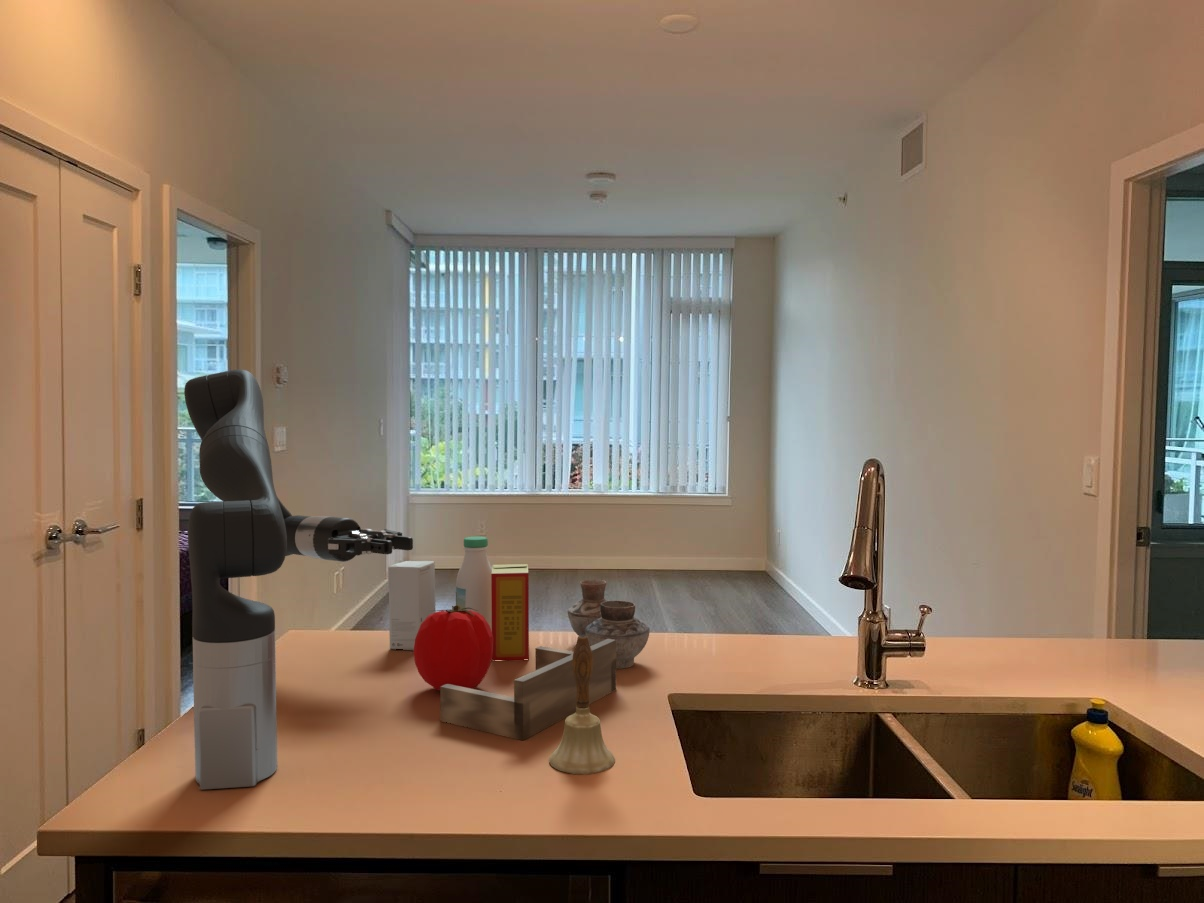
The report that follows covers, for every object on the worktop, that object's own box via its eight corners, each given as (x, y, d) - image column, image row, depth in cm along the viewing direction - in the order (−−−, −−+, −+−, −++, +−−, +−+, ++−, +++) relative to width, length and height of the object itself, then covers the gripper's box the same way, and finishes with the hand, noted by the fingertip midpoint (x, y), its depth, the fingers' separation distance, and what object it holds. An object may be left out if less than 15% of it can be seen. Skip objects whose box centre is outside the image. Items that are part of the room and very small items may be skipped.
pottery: (612, 635, 173) (612, 575, 172) (659, 670, 149) (659, 601, 149) (557, 639, 169) (556, 578, 169) (596, 676, 146) (596, 605, 145)
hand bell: (628, 761, 110) (628, 636, 109) (580, 780, 104) (580, 648, 103) (583, 743, 116) (583, 624, 115) (535, 761, 110) (535, 635, 109)
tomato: (417, 705, 131) (416, 617, 131) (411, 680, 143) (410, 600, 143) (500, 697, 135) (500, 611, 134) (488, 673, 147) (487, 595, 146)
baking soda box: (528, 660, 155) (528, 570, 154) (491, 661, 154) (491, 571, 154) (528, 646, 164) (527, 561, 164) (493, 647, 164) (492, 562, 163)
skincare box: (419, 651, 161) (419, 567, 160) (386, 649, 162) (385, 566, 161) (437, 640, 169) (436, 560, 168) (405, 638, 170) (404, 559, 169)
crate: (440, 721, 124) (440, 665, 124) (540, 675, 146) (540, 628, 145) (523, 740, 117) (523, 681, 116) (616, 689, 138) (616, 639, 138)
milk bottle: (500, 636, 172) (499, 535, 171) (491, 646, 164) (490, 540, 163) (461, 635, 172) (461, 534, 172) (451, 645, 165) (450, 540, 164)
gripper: (295, 521, 146) (369, 527, 137) (358, 512, 158) (430, 518, 150) (295, 565, 146) (369, 575, 138) (359, 553, 159) (430, 561, 150)
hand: (400, 545), depth 144 cm, fingers open, 4 cm apart
